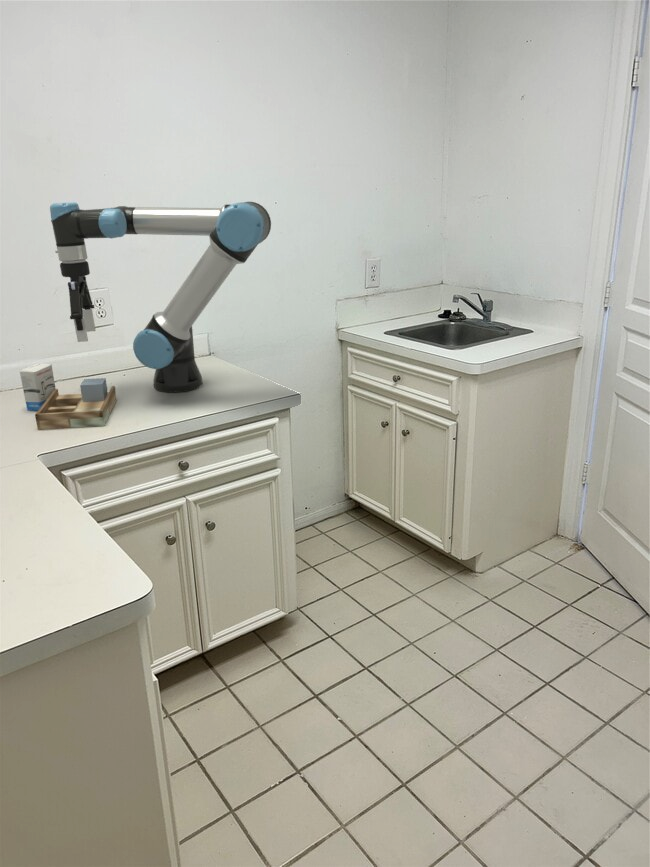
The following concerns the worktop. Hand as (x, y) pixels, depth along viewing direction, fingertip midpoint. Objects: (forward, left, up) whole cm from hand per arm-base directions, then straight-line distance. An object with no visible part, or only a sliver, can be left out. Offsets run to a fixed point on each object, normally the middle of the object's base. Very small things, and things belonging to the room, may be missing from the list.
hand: (87, 336), depth 187 cm
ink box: (+14, +5, -19) cm, 24 cm away
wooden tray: (+2, +14, -19) cm, 24 cm away
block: (-2, +8, -16) cm, 18 cm away
